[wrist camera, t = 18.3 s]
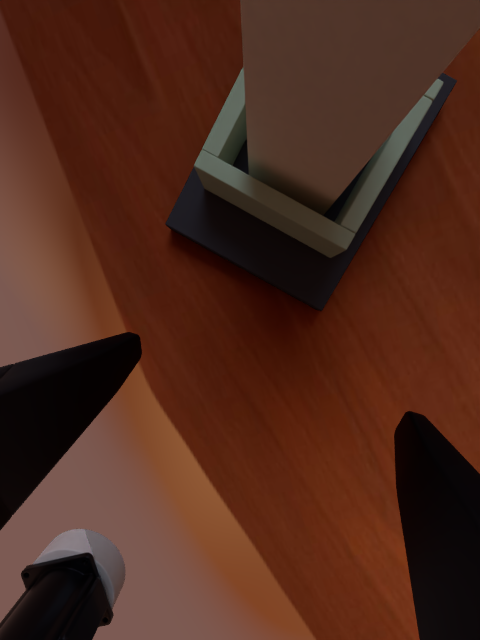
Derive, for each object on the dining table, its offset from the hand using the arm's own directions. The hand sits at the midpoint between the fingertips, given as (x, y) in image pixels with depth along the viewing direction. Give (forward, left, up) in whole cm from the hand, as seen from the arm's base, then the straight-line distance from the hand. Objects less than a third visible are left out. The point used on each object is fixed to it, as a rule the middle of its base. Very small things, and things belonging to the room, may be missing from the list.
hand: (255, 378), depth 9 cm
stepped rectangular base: (+6, +10, -10) cm, 16 cm away
